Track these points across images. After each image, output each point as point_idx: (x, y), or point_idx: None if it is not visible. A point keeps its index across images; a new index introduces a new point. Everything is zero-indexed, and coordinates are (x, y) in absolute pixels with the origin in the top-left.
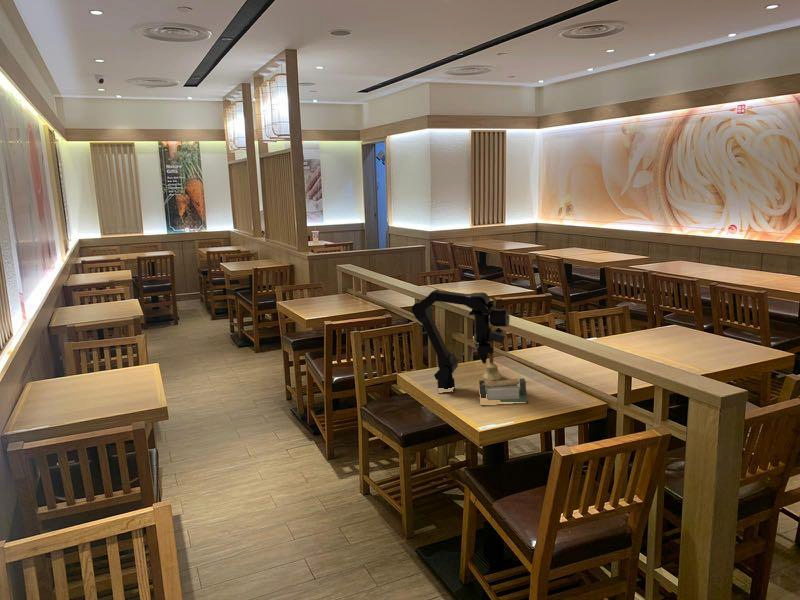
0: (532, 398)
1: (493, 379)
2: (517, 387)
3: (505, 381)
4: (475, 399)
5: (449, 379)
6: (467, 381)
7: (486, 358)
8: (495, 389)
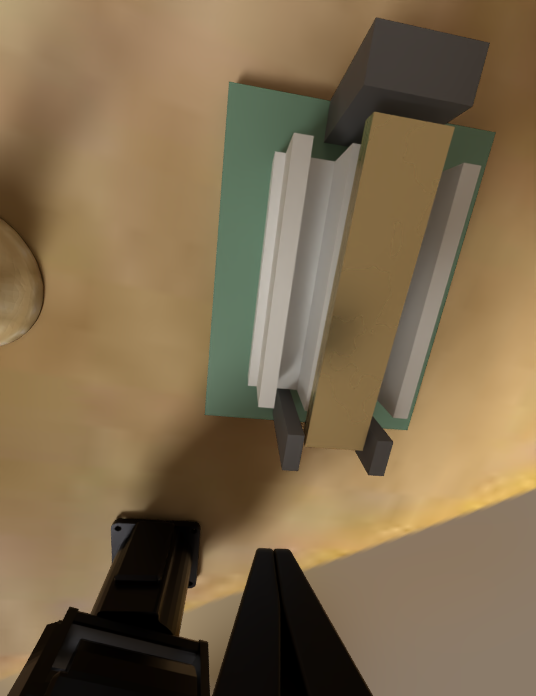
0: None
1: (32, 285)
2: None
3: (371, 263)
4: None
5: (169, 613)
6: (38, 443)
7: (350, 660)
8: (417, 361)
